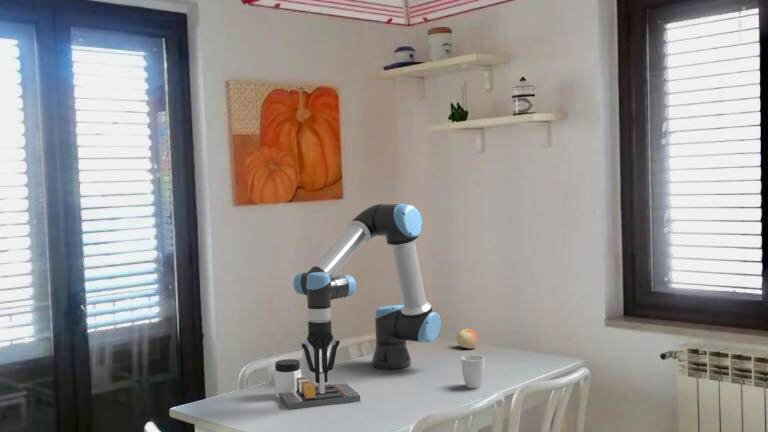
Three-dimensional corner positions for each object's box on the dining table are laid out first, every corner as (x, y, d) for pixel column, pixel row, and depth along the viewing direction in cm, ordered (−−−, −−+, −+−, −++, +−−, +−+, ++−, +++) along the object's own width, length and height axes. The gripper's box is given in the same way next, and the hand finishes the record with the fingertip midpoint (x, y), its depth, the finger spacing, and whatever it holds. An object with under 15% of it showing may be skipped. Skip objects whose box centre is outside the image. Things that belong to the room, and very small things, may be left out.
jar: (285, 392, 281) (284, 358, 281) (305, 394, 278) (304, 359, 277) (271, 399, 273) (269, 363, 273) (291, 401, 270) (290, 365, 269)
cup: (486, 384, 285) (486, 355, 284) (483, 390, 277) (482, 360, 277) (463, 382, 287) (463, 354, 287) (459, 388, 279) (459, 360, 279)
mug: (309, 385, 288) (308, 352, 287) (299, 382, 293) (298, 349, 293) (333, 380, 294) (332, 348, 293) (323, 377, 299) (322, 345, 299)
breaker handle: (313, 395, 265) (313, 383, 265) (315, 397, 263) (315, 385, 262) (304, 396, 265) (304, 384, 264) (306, 398, 262) (306, 386, 262)
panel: (346, 388, 283) (345, 370, 282) (360, 401, 266) (359, 381, 266) (277, 396, 275) (277, 376, 275) (287, 409, 259) (287, 389, 259)
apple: (467, 345, 350) (466, 326, 350) (482, 348, 343) (481, 329, 343) (452, 348, 344) (452, 329, 344) (467, 351, 338) (467, 332, 337)
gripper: (336, 317, 269) (338, 387, 270) (297, 320, 265) (299, 391, 266) (342, 320, 262) (344, 393, 263) (302, 324, 258) (304, 397, 259)
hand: (321, 392), depth 265 cm, fingers closed
